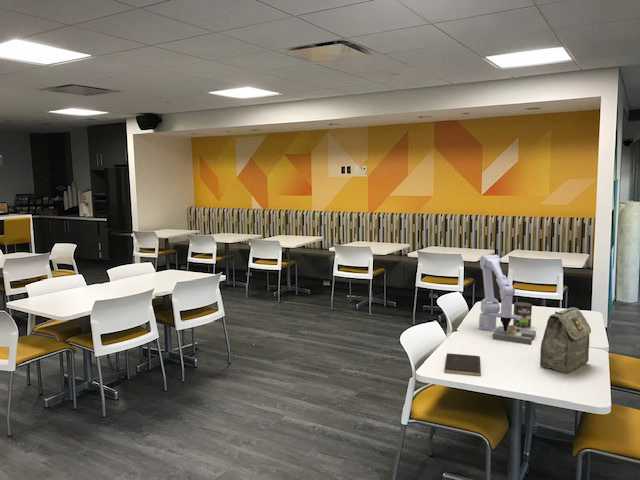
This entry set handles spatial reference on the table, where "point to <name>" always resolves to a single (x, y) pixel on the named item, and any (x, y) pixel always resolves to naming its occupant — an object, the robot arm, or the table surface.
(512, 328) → the maple block
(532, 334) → the trap board
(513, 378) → the table surface
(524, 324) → the coffee can
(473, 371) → the hardcover book
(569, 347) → the bag
